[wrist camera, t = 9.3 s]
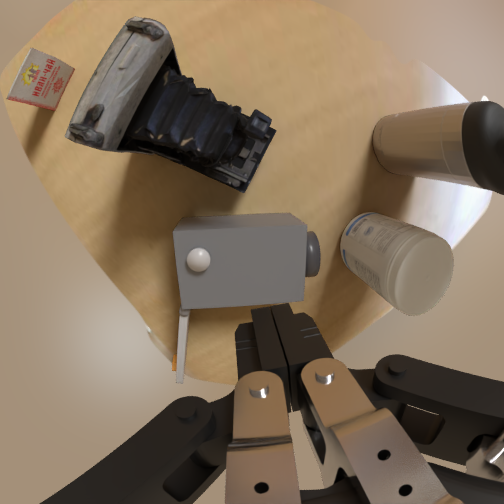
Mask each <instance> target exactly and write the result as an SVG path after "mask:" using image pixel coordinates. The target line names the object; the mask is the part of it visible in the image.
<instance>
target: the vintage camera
mask: <svg viewBox="0 0 504 504" xmlns="http://www.w3.org/2000/svg"><path fill="white" fill-rule="evenodd" d="M193 81H194V79H193V78H187V77H186V76H185V75H182V74H181V70H180V67H179V64H178V60H177V56H176V52H175V48H174V45H173V42H172V39H171V36H170V34H169V31H168V30H167V29H166V27H165V26H164V25H163V24H162V23H160V22H158V21H156V20H153V19H150V18H140V17H136V16H135V17H133V18H131V19H128V21H127V22H126V23H125V25H124V26H123V28H122V29H121V30H120V32H119V33H118V35H117V36H116V38H115V39H114V41H113V42H112V44H111V45H110V47H109V48H108V50H107V52H106V53H105V55H104V56H103V58H102V60H101V61H100V63H99V65H98V67H97V68H96V70H95V72H94V74H93V75H92V77H91V79H90V81H89V83H88V85H87V86H86V88H85V90H84V92H83V94H82V96H81V98H80V100H79V102H78V105H77V107H76V109H75V112H74V114H73V116H72V119H71V121H70V124H69V127H68V129H67V132H66V135H65V137H66V138H68V139H69V140H71V141H73V142H75V143H79V144H82V145H86V146H89V147H92V148H96V149H99V150H104V151H112V152H121V153H122V152H132V153H142V154H148V155H154V154H157V155H159V156H162V157H165V158H167V159H170V160H172V161H174V162H176V163H178V164H181V165H184V166H186V167H189V168H191V169H193V170H195V171H197V172H200V173H202V174H204V175H206V176H208V177H210V178H212V179H215V180H217V181H219V182H221V183H224V184H226V185H228V186H230V187H232V188H234V189H236V190H238V191H240V192H242V193H245V191H246V189H247V187H248V185H249V183H250V181H251V179H252V177H253V176H254V174H255V172H256V170H257V168H258V166H259V164H260V162H261V160H262V158H263V156H264V154H265V152H266V150H267V148H268V146H269V144H270V142H271V140H272V138H273V137H274V135H275V133H276V130H275V129H273V128H271V127H269V126H270V124H271V121H272V119H270V118H269V117H268V116H266V115H265V114H263V113H261V112H260V111H258V110H256V109H255V110H254V112H253V113H252V115H251V117H249V116H247V115H244V114H242V113H241V107H239V106H233V107H232V105H228V104H227V103H225V102H223V101H217V100H216V98H215V96H214V94H213V93H212V91H211V89H210V88H209V90H208V89H207V88H196V86H195V84H194V82H193Z"/></svg>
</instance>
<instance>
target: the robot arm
mask: <svg viewBox="0 0 504 504" xmlns="http://www.w3.org/2000/svg"><path fill="white" fill-rule="evenodd" d="M373 147H374V151H375V154H376V156H377V158H378V160H379V162H380V163H381V165H382V166H383V167H384V168H385V169H386V170H388V171H389V172H391V173H394V174H400V175H407V176H414V177H421V178H427V179H434V180H440V181H446V182H451V183H457V184H462V185H468V186H473V187H478V188H482V189H487V190H491V191H495V192H497V193H499V194H502V195H504V108H503V107H501V106H500V105H499V104H497V103H494V102H491V101H481V102H471V103H462V104H454V105H447V106H439V107H433V108H426V109H420V110H414V111H409V112H403V113H398V114H393V115H389V116H385V117H384V118H382V119H381V120H380V121H379V122H378V123H377V125H376V127H375V130H374V133H373ZM251 314H252V320H253V322H250V323H244V324H239V326H238V328H237V330H236V331H235V342H236V356H237V368H238V382H237V383H236V386H235V389H234V390H233V391H232V392H231V393H230V394H229V395H227V396H225V397H223V398H221V399H219V400H216V401H214V402H211V403H208V402H207V401H206V400H204V399H202V398H200V397H196V396H187V397H182V398H179V399H177V400H175V401H173V402H172V403H171V404H169V405H168V406H167V407H166V408H165V409H164V410H163V411H162V412H160V413H159V414H158V415H157V416H156V417H154V418H153V419H152V420H151V421H150V422H149V423H147V424H146V425H145V426H144V427H143V428H141V429H140V430H139V431H138V432H137V433H136V434H134V435H133V436H132V437H131V438H129V439H128V440H127V441H126V442H124V443H123V444H122V445H120V446H119V447H118V448H117V449H116V450H114V451H113V452H112V453H110V454H109V455H108V456H106V457H105V458H104V459H103V460H101V461H100V462H99V463H97V464H96V465H95V466H93V467H92V468H91V469H89V470H88V471H86V472H85V473H84V474H82V475H81V476H80V477H78V478H77V479H75V480H74V481H73V482H71V483H70V484H68V485H67V486H65V487H64V488H63V489H61V490H60V491H58V492H57V493H55V494H54V495H52V496H51V497H49V498H48V499H46V500H45V501H43V502H42V503H40V504H193V503H194V502H195V501H196V500H197V499H198V498H199V497H200V496H201V495H202V494H203V492H205V491H206V489H207V488H208V487H209V486H210V485H211V484H212V483H213V482H214V481H215V480H216V479H217V478H218V477H219V476H220V474H221V473H222V472H223V471H224V470H225V469H226V485H225V504H504V382H502V381H497V380H493V379H489V378H485V377H481V376H476V375H472V374H469V373H464V372H461V371H457V370H453V369H449V368H446V367H442V366H439V365H435V364H432V363H428V362H425V361H421V360H417V359H414V358H411V357H408V356H404V355H389V356H386V357H384V358H382V359H381V360H380V361H379V362H378V363H377V365H376V367H375V369H363V370H355V369H349V368H347V367H346V366H345V365H344V364H343V363H342V362H341V361H339V360H336V359H334V357H333V356H332V354H331V352H330V350H329V348H328V346H327V344H326V342H325V341H324V339H323V337H322V335H321V334H320V331H319V329H318V328H317V326H316V324H315V322H314V320H313V318H311V317H310V316H308V315H307V314H305V313H304V312H303V313H298V314H293V312H292V309H291V307H290V305H289V303H285V304H280V305H274V306H270V308H269V307H263V308H258V309H252V310H251ZM290 403H291V405H290ZM407 404H408V405H411V406H414V407H417V408H420V409H423V410H426V411H429V412H432V413H436V414H439V415H436V414H432V413H429V412H426V411H423V410H420V409H417V408H414V407H411V406H408V405H407ZM291 406H292V410H293V412H294V411H298V410H300V411H301V414H302V418H303V429H304V431H305V434H306V436H307V439H308V441H309V443H310V446H311V448H312V451H313V453H314V456H315V458H316V461H317V463H318V465H319V468H320V471H321V476H322V481H323V485H324V487H325V489H320V490H299V484H298V476H297V470H296V463H295V456H294V449H293V443H292V438H291V434H290V428H289V416H288V413H290V412H291ZM421 453H423V454H426V455H429V456H432V457H435V458H439V459H442V460H446V461H450V462H453V463H457V464H461V465H465V466H466V469H467V470H466V473H463V472H459V471H456V470H453V469H450V468H446V467H443V466H440V465H437V464H434V463H430V462H426V460H425V459H424V457H423V456H422V455H421Z"/></svg>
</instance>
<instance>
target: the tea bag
mask: <svg viewBox="0 0 504 504" xmlns="http://www.w3.org/2000/svg"><path fill="white" fill-rule="evenodd" d="M74 70H75V69H74V68H73V67H71V66H69V65H68V64H66V63H64V62H63V61H61V60H59V59H57V58H56V57H53V56H51V55H48V54H46V53H43V52H41V51H38V50H36V49H34V48H30V50H29V52H28V54H27V56H26V58H25V60H24V61H23V63H22V65H21V67H20V69H19V71H18V74H17V76H16V78H15V80H14V82H13V84H12V87H11V89H10V91H9V94H8V96H7V99H8V100H13V101H17V102H21V103H26V104H30V105H34V106H38V107H42V108H46V109H50V110H54V111H55V110H56V108H57V105H58V103H59V101H60V99H61V96H62V94H63V92H64V90H65V88H66V86H67V84H68V82H69V80H70V78H71V76H72V74H73V72H74Z"/></svg>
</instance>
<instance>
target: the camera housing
mask: <svg viewBox="0 0 504 504" xmlns="http://www.w3.org/2000/svg"><path fill="white" fill-rule="evenodd" d="M173 239H174V249H175V258H176V267H177V275H178V283H179V290H180V297H181V304H182V309H201V308H220V307H236V306H251V305H264V304H276V303H287V302H297V301H304V287H305V277H315V276H316V275H317V274H318V272H319V268H320V246H319V242H318V238H317V236H316V234H315V233H314V232H313V231H309V232H307V224H305V223H304V222H302V221H301V220H299V219H298V218H296V217H295V216H294V215H292V214H291V213H270V214H244V215H222V216H204V217H188V218H182V219H181V220H180V222H179V223H178V225H177V226H176V228H175V229H174V230H173Z"/></svg>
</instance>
